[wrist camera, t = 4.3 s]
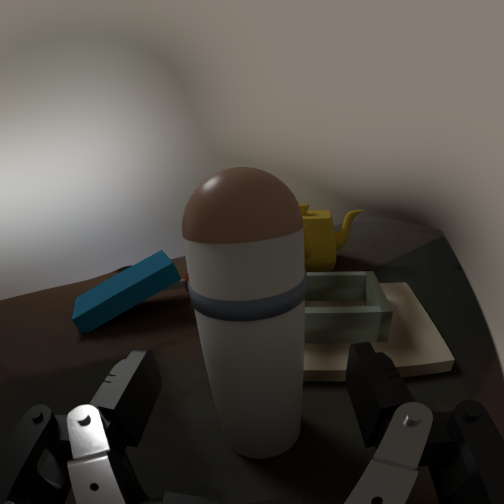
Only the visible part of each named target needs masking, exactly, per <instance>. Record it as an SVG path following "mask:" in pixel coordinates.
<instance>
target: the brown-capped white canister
mask: <svg viewBox="0 0 504 504" xmlns="http://www.w3.org/2000/svg"><path fill="white" fill-rule="evenodd" d="M182 234H183V241H184V249H185V256H186V263H187V269H188V275H189V280H188V290H189V295H190V301H191V304H192V306H193V307H194V310H195V315H196V321H197V326H198V331H199V336H200V341H201V345H202V350H203V355H204V359H205V364H206V368H207V373H208V377H209V381H210V386H211V390H212V394H213V398H214V402H215V406H216V410H217V414H218V417H219V421H220V425H221V428H222V432H223V436H224V439H225V441H226V443H227V444H228V446H229V447H230V448H231V449H232V450H233V451H235V452H236V453H238V454H240V455H242V456H245V457H249V458H256V459H264V458H271V457H275V456H277V455H280V454H282V453H284V452H286V451H287V450H289V449H290V448H291V447H292V446H293V445H294V444H295V442H296V441H297V439H298V437H299V434H300V426H301V410H302V392H303V369H304V332H305V297H306V295H307V272H306V270H305V266H304V228H303V217H302V213H301V209H300V207H299V204H298V202H297V200H296V198H295V196H294V194H293V193H292V192H291V190H290V189H289V188H288V187H287V186H286V185H285V184H284V183H283V182H282V181H280V180H279V179H278V178H277V177H275V176H273V175H272V174H270V173H267V172H265V171H263V170H259V169H255V168H248V167H237V168H231V169H227V170H223V171H221V172H218V173H216V174H214V175H213V176H211V177H209V178H208V179H206V180H205V181H204V182H203V183H201V184H200V185H199V187H198V188H197V189H196V190H195V191H194V193H193V194H192V196H191V197H190V199H189V201H188V203H187V205H186V208H185V211H184V216H183V222H182Z"/></svg>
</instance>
